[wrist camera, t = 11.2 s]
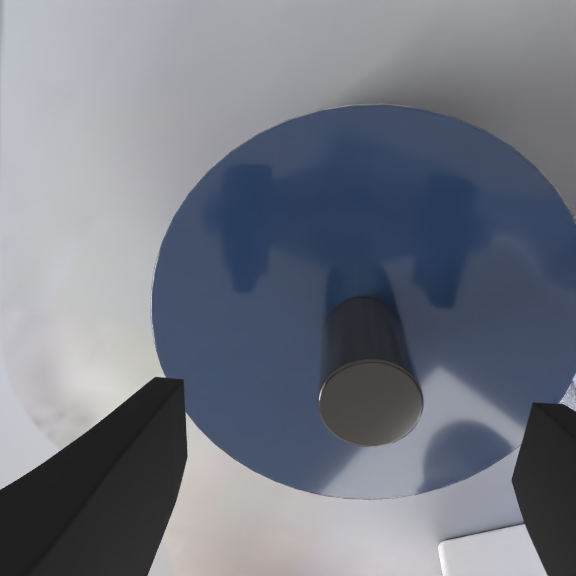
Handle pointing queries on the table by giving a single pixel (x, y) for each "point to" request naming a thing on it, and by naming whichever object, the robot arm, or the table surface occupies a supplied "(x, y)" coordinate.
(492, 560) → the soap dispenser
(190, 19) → the table surface
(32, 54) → the table surface
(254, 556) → the table surface
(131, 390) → the table surface
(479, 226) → the lid
